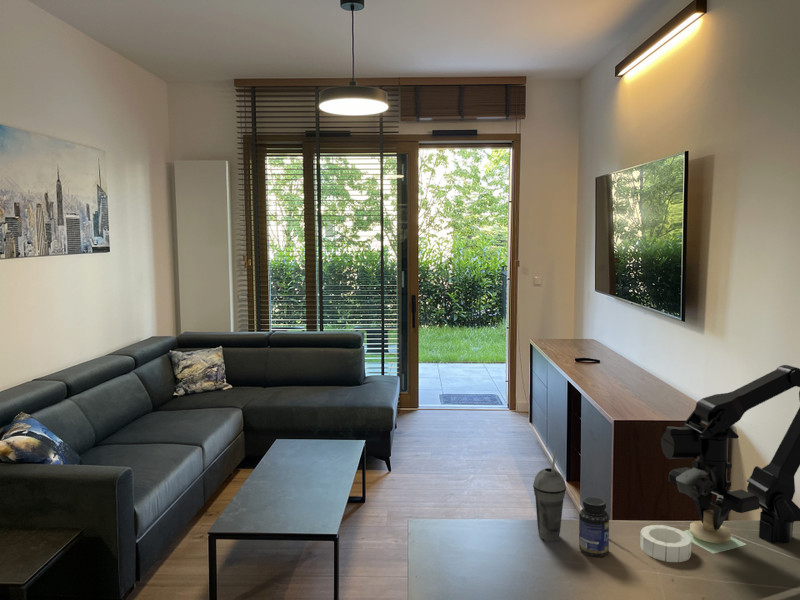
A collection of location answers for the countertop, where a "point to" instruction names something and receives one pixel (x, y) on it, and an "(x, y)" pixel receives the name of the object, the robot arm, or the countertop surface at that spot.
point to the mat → (715, 544)
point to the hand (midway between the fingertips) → (710, 526)
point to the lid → (709, 529)
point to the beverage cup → (549, 501)
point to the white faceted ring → (665, 543)
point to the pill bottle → (594, 527)
